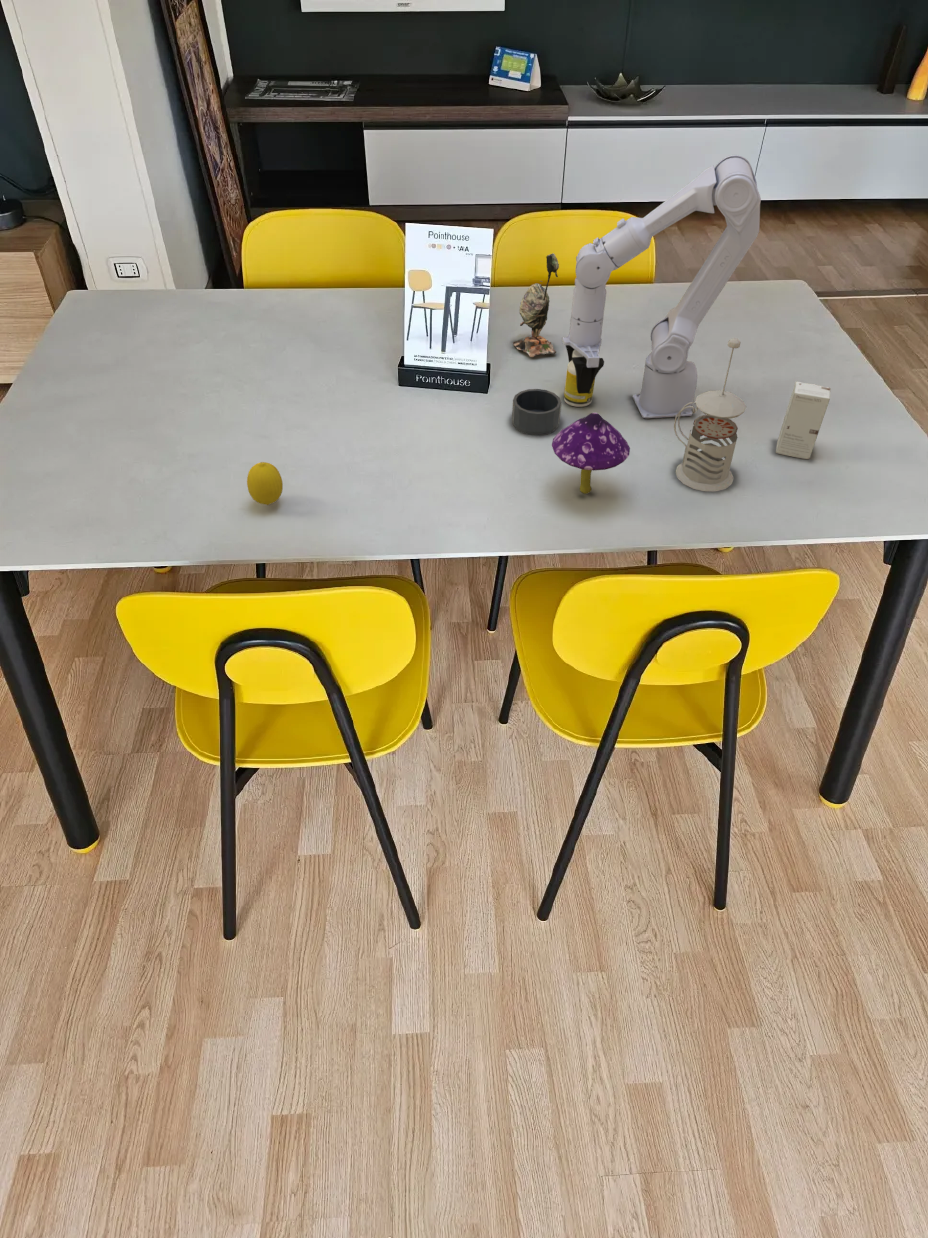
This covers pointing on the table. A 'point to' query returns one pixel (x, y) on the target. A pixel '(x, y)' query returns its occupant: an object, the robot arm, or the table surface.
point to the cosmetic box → (803, 420)
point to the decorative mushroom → (590, 447)
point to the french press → (711, 438)
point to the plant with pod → (537, 314)
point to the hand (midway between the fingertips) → (579, 384)
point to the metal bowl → (536, 412)
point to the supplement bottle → (575, 387)
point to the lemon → (264, 483)
